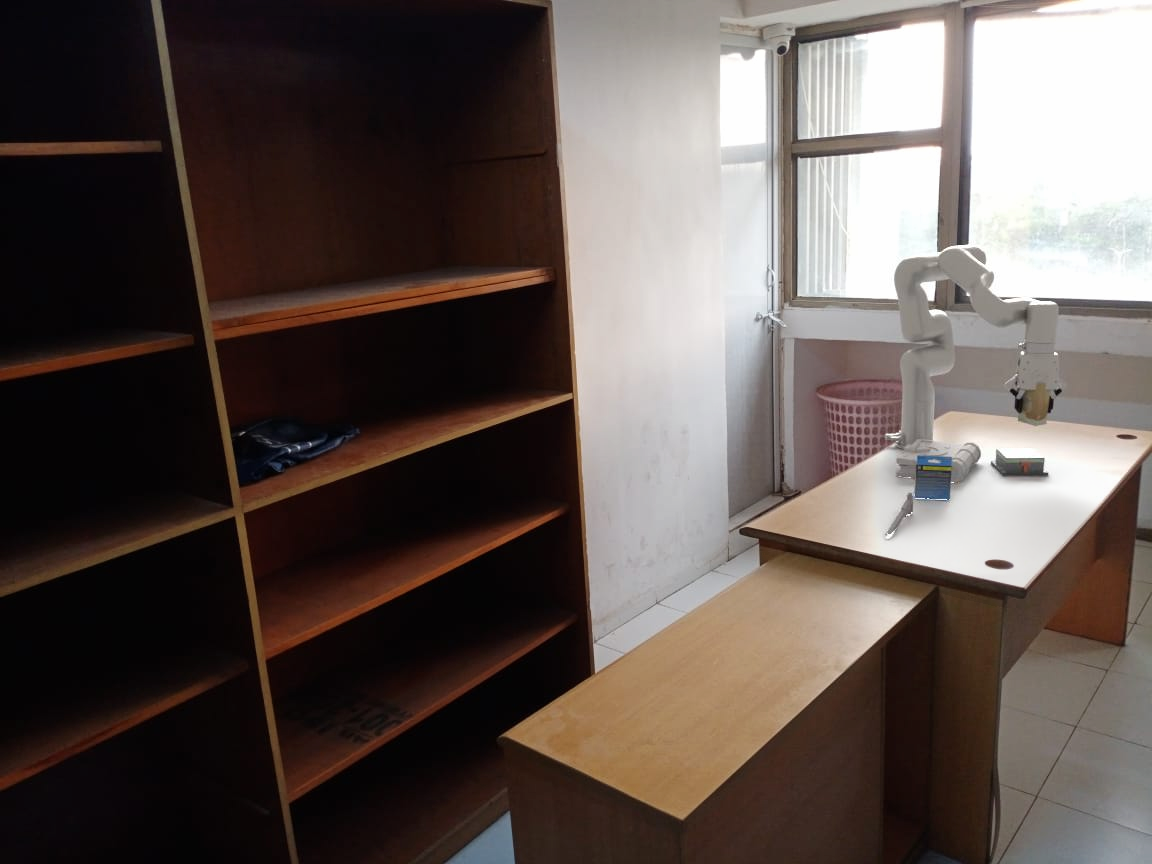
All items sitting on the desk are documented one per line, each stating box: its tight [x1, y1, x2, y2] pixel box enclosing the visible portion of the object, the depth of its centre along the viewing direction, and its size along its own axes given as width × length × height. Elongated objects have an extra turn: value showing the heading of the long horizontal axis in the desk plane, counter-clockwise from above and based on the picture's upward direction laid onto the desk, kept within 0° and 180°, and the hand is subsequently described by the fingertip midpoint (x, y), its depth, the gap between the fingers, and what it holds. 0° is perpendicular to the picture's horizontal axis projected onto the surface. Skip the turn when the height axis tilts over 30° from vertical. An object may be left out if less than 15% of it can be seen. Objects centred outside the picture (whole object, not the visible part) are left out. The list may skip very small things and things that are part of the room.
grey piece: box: [990, 447, 1049, 477], centre depth 265 cm, size 12×12×5 cm
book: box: [895, 439, 982, 484], centre depth 271 cm, size 19×28×8 cm
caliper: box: [886, 492, 914, 534], centre depth 227 cm, size 20×1×6 cm, turn 145°
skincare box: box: [1017, 382, 1050, 427], centre depth 253 cm, size 6×4×12 cm
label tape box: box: [913, 455, 952, 500], centre depth 244 cm, size 9×4×12 cm, turn 72°
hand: (1033, 411), depth 254 cm, fingers closed on skincare box, 6 cm apart
